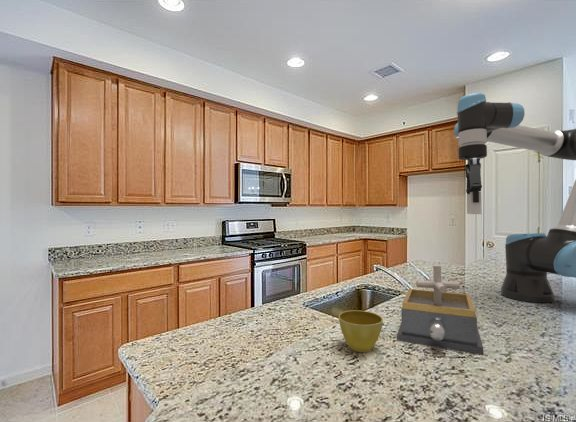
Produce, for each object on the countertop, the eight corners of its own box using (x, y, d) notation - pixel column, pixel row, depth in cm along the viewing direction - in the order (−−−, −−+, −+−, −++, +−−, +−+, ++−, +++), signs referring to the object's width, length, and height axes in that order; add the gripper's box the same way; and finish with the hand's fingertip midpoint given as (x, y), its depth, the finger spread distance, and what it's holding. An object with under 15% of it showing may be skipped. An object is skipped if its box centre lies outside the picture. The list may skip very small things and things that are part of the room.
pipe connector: (466, 311, 73) (465, 269, 73) (421, 309, 75) (421, 268, 75) (452, 299, 82) (451, 262, 83) (413, 297, 84) (412, 262, 85)
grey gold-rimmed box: (475, 326, 82) (475, 293, 82) (485, 362, 63) (484, 319, 63) (405, 317, 91) (404, 287, 91) (394, 346, 71) (394, 308, 71)
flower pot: (391, 347, 71) (390, 316, 71) (369, 362, 64) (368, 328, 64) (354, 335, 78) (353, 307, 78) (330, 348, 71) (330, 317, 71)
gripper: (456, 153, 107) (458, 213, 106) (460, 138, 84) (462, 214, 84) (481, 151, 103) (483, 213, 103) (492, 135, 81) (494, 214, 81)
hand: (473, 214), depth 94 cm, fingers open, 13 cm apart
